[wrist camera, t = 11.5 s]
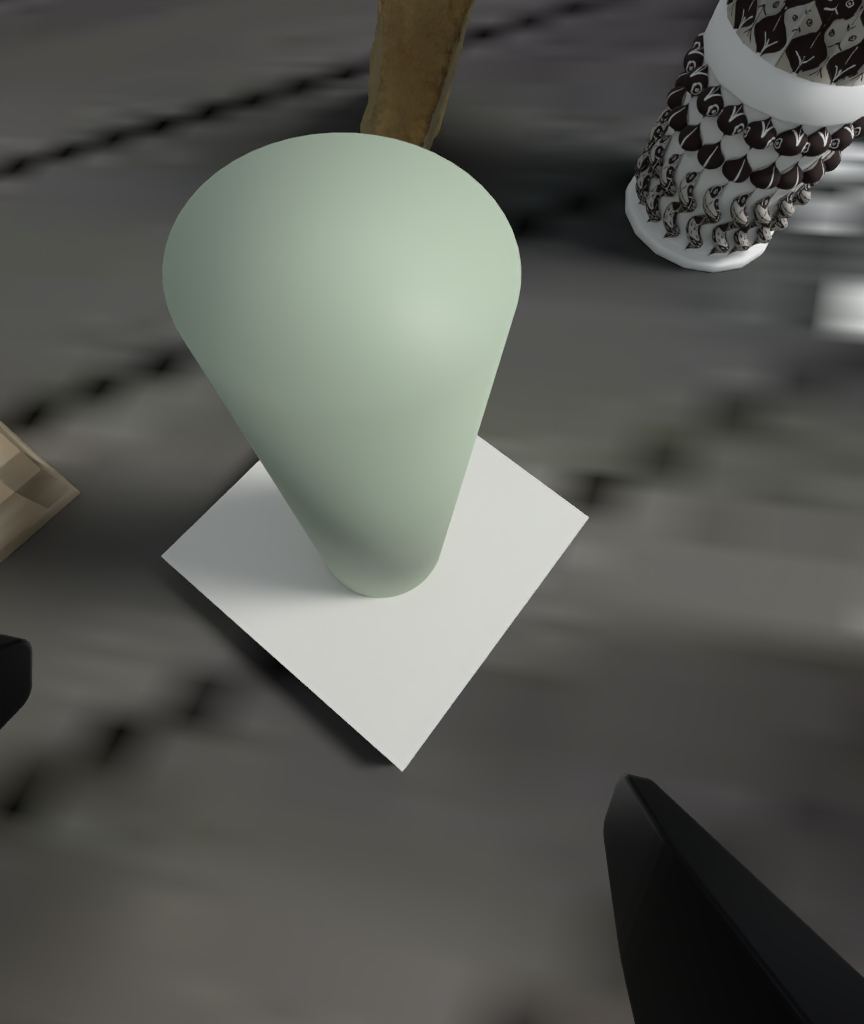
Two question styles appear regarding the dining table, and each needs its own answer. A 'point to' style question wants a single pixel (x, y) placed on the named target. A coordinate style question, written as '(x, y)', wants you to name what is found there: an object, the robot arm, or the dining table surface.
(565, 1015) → the dining table surface
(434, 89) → the rock
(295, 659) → the board
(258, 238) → the round block
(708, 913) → the robot arm
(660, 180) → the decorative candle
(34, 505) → the frame
